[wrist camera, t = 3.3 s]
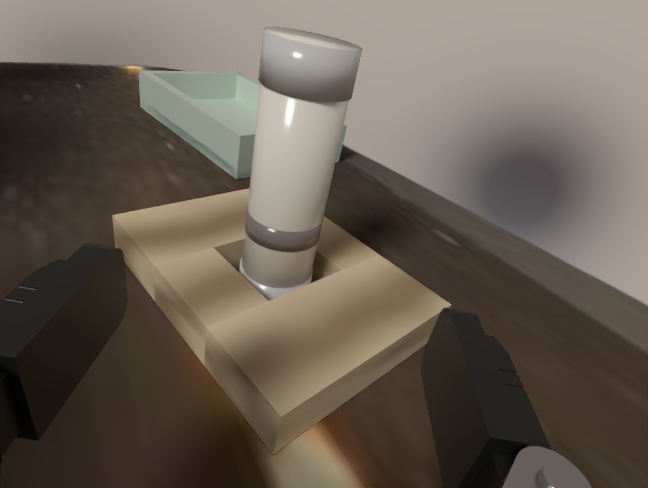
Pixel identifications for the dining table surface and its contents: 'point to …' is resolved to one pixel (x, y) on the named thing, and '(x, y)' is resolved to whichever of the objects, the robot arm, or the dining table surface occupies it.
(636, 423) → the dining table surface
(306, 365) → the fuse holder
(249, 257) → the fuse
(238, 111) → the parts tray
